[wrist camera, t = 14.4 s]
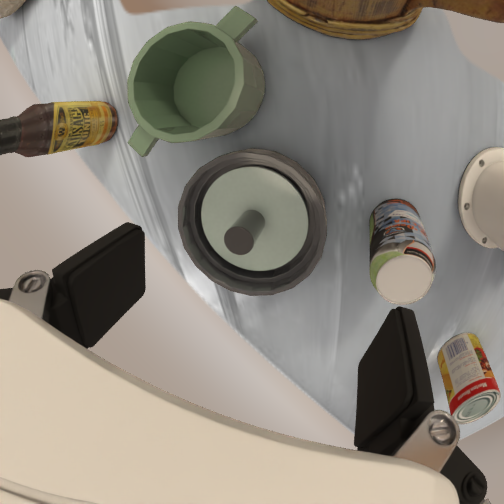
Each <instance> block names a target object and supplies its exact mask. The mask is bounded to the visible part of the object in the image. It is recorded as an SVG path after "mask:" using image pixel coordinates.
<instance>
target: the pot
mask: <svg viewBox="0 0 504 504" xmlns="http://www.w3.org/2000/svg"><path fill="white" fill-rule="evenodd" d="M257 22H258V21H257V20H256V19H255V18H254V17H253V16H251V15H250V14H248V13H247V12H245V11H243V10H242V9H240V8H238V7H237V6H235V7H234V8H233V9H232V10H231V11H230V12H229V13H228V14H227V15H226V16H225V17H224V18H223V19H222V20H221V21H220V22H219V23H218V24H217V25H216V26H214V25H212V24H206V23H199V22H185V23H181V24H177V25H174V26H170V27H167V28H165V29H164V30H162V31H161V32H159V33H158V34H157V35H155V36H154V37H152V38H151V39H150V40H148V42H146V44H145V45H144V47H143V48H142V49H141V51H140V52H139V53H138V55H137V56H136V58H135V59H134V61H133V64H132V67H131V71H130V74H129V77H128V81H127V87H128V103H129V106H130V108H131V110H132V113H133V115H134V117H135V119H136V122H137V123H138V124H139V125H138V127H137V128H136V130H135V132H134V133H133V135H132V137H131V138H130V140H129V141H128V144H129V145H130V146H131V147H132V148H133V149H134V150H135V151H136V152H137V153H138V154H139V155H141V156H142V157H144V156H148V154H149V153H150V151H151V150H152V148H153V147H154V145H155V144H156V142H157V141H158V139H161V140H164V141H167V142H170V143H179V142H189V141H197V140H202V139H207V138H213V137H219V136H224V135H227V134H229V133H232V132H234V131H236V130H238V129H240V128H242V127H243V126H244V125H246V124H247V123H248V122H249V121H250V120H251V119H252V118H253V117H254V116H255V114H256V113H257V111H258V110H259V108H260V106H261V103H262V101H263V97H264V93H265V78H264V73H263V70H262V68H261V66H260V64H259V62H258V61H257V59H256V57H255V56H254V55H253V54H252V53H251V52H249V51H248V50H247V49H246V48H245V47H243V46H242V45H241V44H240V43H238V41H239V40H240V39H241V38H242V37H243V36H244V35H245V34H246V33H247V32H248V31H249V30H250V29H251V28H252V27H253V26H254V25H255V24H256V23H257Z"/></svg>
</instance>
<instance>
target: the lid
mask: <svg viewBox="0 0 504 504" xmlns="http://www.w3.org/2000/svg"><path fill="white" fill-rule="evenodd" d="M201 220H202V226H203V230H204V233H205V235H206V237H207V239H208V241H209V243H210V244H211V246H212V247H213V248H214V250H215V251H216V252H217V253H218V254H219V255H220V256H221V257H222V258H224V259H225V260H226V261H228V262H229V263H231V264H233V265H235V266H238V267H240V268H243V269H247V270H253V271H266V270H271V269H275V268H278V267H281V266H283V265H284V264H286V263H288V262H289V261H291V260H292V259H293V258H294V257H295V256H296V255H297V254H298V253H299V251H300V250H301V248H302V247H303V245H304V243H305V240H306V237H307V233H308V227H309V216H308V211H307V207H306V204H305V201H304V199H303V197H302V195H301V194H300V192H299V191H298V189H297V188H296V187H295V186H294V185H293V183H291V182H290V181H289V180H288V179H287V178H285V177H284V176H283V175H281V174H279V173H277V172H275V171H273V170H270V169H267V168H263V167H258V166H245V167H240V168H236V169H233V170H230V171H228V172H227V173H225V174H223V175H222V176H220V177H219V178H218V179H216V180H215V181H214V182H213V183H212V185H211V186H210V188H209V189H208V191H207V193H206V194H205V197H204V200H203V204H202V210H201Z"/></svg>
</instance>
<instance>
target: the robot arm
mask: <svg viewBox="0 0 504 504" xmlns="http://www.w3.org/2000/svg"><path fill="white" fill-rule="evenodd" d="M479 161H480V163H479ZM458 204H459V213H460V217H461V221H462V223H463V226H464V228H465V230H466V231H467V233H468V234H469V235H470V236H471V237H472V238H473V240H474V241H476V242H477V243H478V244H480V245H482V246H484V247H487V248H500V249H501V250H502V251H503V252H504V148H496V147H493V148H489V149H486V150H484V151H482V152H480V153H479V154H478V155H476V156H475V157H474V158H473V159H472V161H471V162H470V163H469V165H468V166H467V168H466V170H465V172H464V174H463V177H462V180H461V184H460V189H459V200H458ZM464 205H465V206H464ZM52 272H53V278H52V279H50V277H49V275H48V274H47V273H46V272H44V271H40V270H34V271H30V272H27V273H25V274H23V275H21V276H20V277H19V278H18V279H17V281H16V282H15V285H14V287H13V288H8V289H0V504H491V503H490V501H489V499H486V500H484V497H485V495H486V492H487V481H486V479H485V476H484V475H483V473H482V472H481V471H480V470H479V469H478V468H477V467H476V465H475V464H474V463H473V462H472V461H471V460H470V459H469V458H468V457H467V456H466V455H465V454H464V453H463V452H462V451H461V450H460V448H459V447H458V446H457V443H458V441H459V438H460V430H459V426H458V424H457V422H456V420H455V419H454V418H453V416H452V415H450V414H449V413H447V412H445V411H442V410H435V411H434V404H433V403H434V399H433V393H432V387H431V382H430V376H429V371H428V367H427V362H426V357H425V353H424V349H423V345H422V340H421V336H420V333H419V329H418V325H417V321H416V318H415V314H414V312H413V310H410V309H407V308H403V307H400V306H399V307H397V308H396V309H392V310H391V311H390V312H389V314H388V316H387V318H386V319H385V321H384V323H383V325H382V326H381V328H380V330H379V331H378V333H377V335H376V336H375V338H374V340H373V341H372V343H371V345H370V346H369V348H368V349H367V351H366V353H365V354H364V356H363V357H362V359H361V361H360V363H359V366H358V389H357V410H356V425H355V437H354V445H355V446H356V447H358V450H351V449H346V448H341V447H335V446H331V445H326V444H321V443H317V442H312V441H308V440H303V439H299V438H295V437H292V436H288V435H284V434H280V433H277V432H273V431H270V430H266V429H263V428H259V427H256V426H253V425H250V424H247V423H244V422H241V421H238V420H235V419H232V418H230V417H227V416H224V415H221V414H218V413H216V412H213V411H210V410H208V409H205V408H203V407H201V406H198V405H196V404H193V403H191V402H189V401H186V400H184V399H182V398H179V397H177V396H175V395H173V394H170V393H168V392H166V391H164V390H161V389H160V388H157V387H155V386H153V385H151V384H149V383H147V382H145V381H143V380H141V379H139V378H137V377H135V376H133V375H131V374H130V373H128V372H126V371H124V370H122V369H120V368H119V367H117V366H115V365H113V364H111V363H110V362H108V361H106V360H105V359H102V358H101V357H99V356H98V355H96V354H94V353H93V352H91V351H89V350H88V348H89V347H93V346H94V345H95V344H96V343H97V342H98V341H99V340H100V339H101V338H102V337H103V335H105V333H107V332H108V330H109V329H110V328H111V327H112V326H113V325H114V324H115V323H116V322H117V321H118V320H119V319H120V318H121V317H122V316H123V315H124V314H125V313H126V312H127V311H128V310H129V309H130V308H131V307H132V306H133V305H134V304H135V303H136V302H137V301H138V300H139V299H140V298H141V297H142V296H143V294H144V292H145V234H144V232H143V231H142V228H141V227H140V226H138V225H135V224H132V223H129V222H127V223H125V224H123V225H121V226H120V227H118V228H116V229H114V230H113V231H111V232H109V233H108V234H106V235H105V236H103V237H101V238H100V239H98V240H97V241H95V242H94V243H92V244H90V245H88V246H87V247H85V248H84V249H82V250H81V251H79V252H77V253H76V254H75V255H73V256H71V257H70V258H68V259H67V260H65V261H64V262H62V263H61V264H59V265H58V266H57V267H55V268H54V269H52Z"/></svg>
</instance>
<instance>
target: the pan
mask: <svg viewBox="0 0 504 504" xmlns="http://www.w3.org/2000/svg"><path fill="white" fill-rule="evenodd" d="M245 166H258V167H263V168H267V169H270V170H273V171H275V172H277V173H279V174H281V175H283V176H284V177H285V178H287V179H288V180H289V181H290V182H291V183H293V185H294V186H295V187H296V188H297V189H298V191H299V192H300V194H301V195H302V197H303V199H304V201H305V204H306V207H307V211H308V216H309V227H308V233H307V237H306V240H305V243H304V245H303V247H302V248H301V250H300V251H299V253H298V254H297V255H296V256H295V257H294V258H293V259H292V260H291V261H289V262H288V263H286V264H284V265H283V266H281V267H278V268H275V269H271V270H266V271H253V270H247V269H243V268H240V267H238V266H235V265H233V264H231V263H229V262H228V261H226V260H225V259H224V258H222V257H221V256H220V255H219V254H218V253H217V252H216V251H215V250H214V248H213V247H212V246H211V244H210V243H209V241H208V239H207V237H206V235H205V233H204V230H203V226H202V220H201V210H202V204H203V200H204V197H205V194H206V193H207V191H208V189H209V188H210V186H211V185H212V183H213V182H214V181H215V180H216V179H218V178H219V177H220V176H222V175H223V174H225V173H227V172H228V171H230V170H233V169H236V168H240V167H245ZM178 229H179V232H180V236H181V239H182V242H183V246H184V248H185V250H186V252H187V253H188V255H189V256H190V258H191V260H192V261H193V263H194V264H195V266H196V267H197V268H198V269H199V270H201V271H202V272H203V273H204V274H205V275H206V276H207V277H208V278H209V279H210V280H212V281H213V282H215V283H217V284H219V285H221V286H222V287H224V288H226V289H228V290H230V291H233V292H237V293H242V294H246V295H250V296H259V295H274V294H277V293H280V292H283V291H286V290H289V289H291V288H293V287H295V286H296V285H297V284H299V283H300V282H301V281H303V280H304V279H305V278H307V277H308V276H309V275H310V274H311V272H312V271H313V269H314V268H315V266H316V265H317V263H318V262H319V260H320V259H321V257H322V253H323V249H324V245H325V240H326V236H327V217H326V209H325V201H324V198H323V196H322V194H321V192H320V190H319V188H318V186H317V184H316V182H315V180H314V179H313V178H312V176H311V175H310V174H309V173H308V172H307V171H306V170H305V169H304V168H303V167H302V166H301V165H300V164H299V163H297V162H296V161H294V160H292V159H290V158H288V157H286V156H284V155H282V154H280V153H278V152H276V151H270V150H263V149H256V148H250V149H245V150H239V151H234V152H230V153H227V154H224V155H222V156H219V157H217V158H215V159H214V160H212V161H210V162H209V163H207V164H205V165H204V166H202V167H201V168H199V169H198V170H197V172H196V173H195V174H194V175H193V177H192V178H191V179H190V180H189V182H188V183H187V184H186V186H185V188H184V191H183V194H182V197H181V200H180V203H179V206H178Z"/></svg>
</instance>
